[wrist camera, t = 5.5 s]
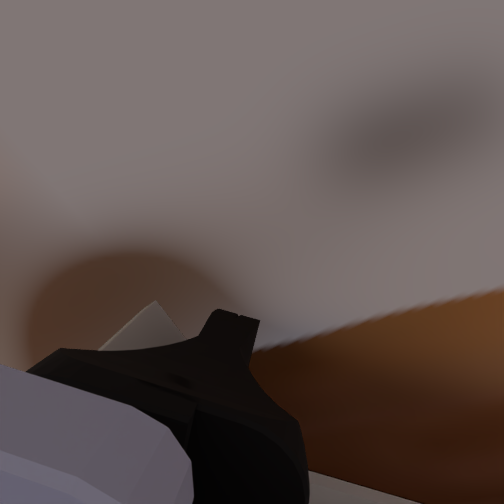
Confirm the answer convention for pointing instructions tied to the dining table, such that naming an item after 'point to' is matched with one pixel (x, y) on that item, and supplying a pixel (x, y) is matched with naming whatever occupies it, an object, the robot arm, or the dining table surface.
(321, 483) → the carton
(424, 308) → the dining table surface
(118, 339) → the flap
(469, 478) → the dining table surface
